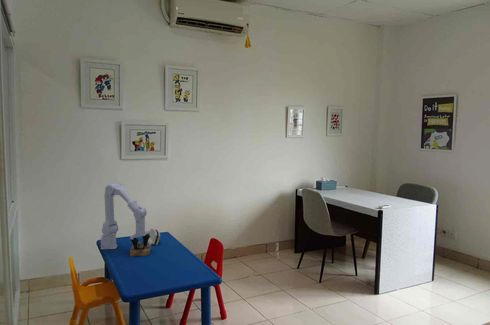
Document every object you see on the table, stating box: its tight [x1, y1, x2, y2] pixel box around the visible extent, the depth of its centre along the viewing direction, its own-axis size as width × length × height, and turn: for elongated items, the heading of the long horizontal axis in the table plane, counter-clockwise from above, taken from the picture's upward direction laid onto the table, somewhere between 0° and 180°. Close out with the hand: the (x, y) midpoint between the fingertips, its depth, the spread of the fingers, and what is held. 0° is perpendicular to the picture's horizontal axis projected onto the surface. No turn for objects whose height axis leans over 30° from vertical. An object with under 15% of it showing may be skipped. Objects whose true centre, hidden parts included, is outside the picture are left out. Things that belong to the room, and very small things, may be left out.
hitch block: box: [129, 244, 152, 257], centre depth 245 cm, size 12×12×3 cm
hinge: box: [147, 228, 161, 246], centre depth 268 cm, size 17×5×10 cm, turn 28°
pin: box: [137, 240, 144, 250], centre depth 245 cm, size 4×4×7 cm
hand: (140, 247), depth 245 cm, fingers open, 7 cm apart
